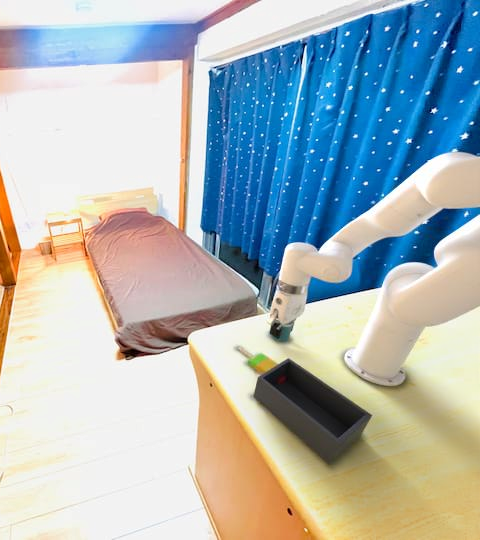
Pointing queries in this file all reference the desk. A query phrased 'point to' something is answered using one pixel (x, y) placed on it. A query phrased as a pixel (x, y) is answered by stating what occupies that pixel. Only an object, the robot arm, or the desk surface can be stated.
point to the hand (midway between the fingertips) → (280, 332)
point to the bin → (311, 409)
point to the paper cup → (284, 331)
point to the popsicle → (261, 363)
